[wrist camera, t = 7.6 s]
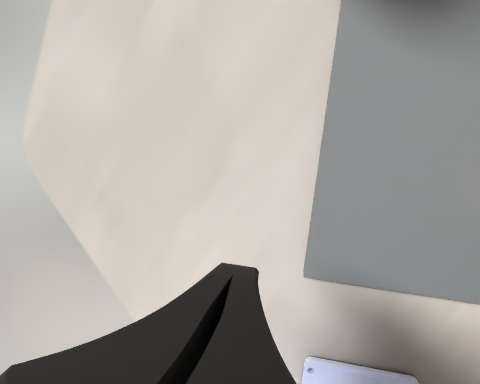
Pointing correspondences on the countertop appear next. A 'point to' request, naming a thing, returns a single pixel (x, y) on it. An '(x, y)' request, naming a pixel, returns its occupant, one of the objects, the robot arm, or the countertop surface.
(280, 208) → the countertop surface
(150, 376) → the robot arm
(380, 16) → the board
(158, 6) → the countertop surface
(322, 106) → the countertop surface
